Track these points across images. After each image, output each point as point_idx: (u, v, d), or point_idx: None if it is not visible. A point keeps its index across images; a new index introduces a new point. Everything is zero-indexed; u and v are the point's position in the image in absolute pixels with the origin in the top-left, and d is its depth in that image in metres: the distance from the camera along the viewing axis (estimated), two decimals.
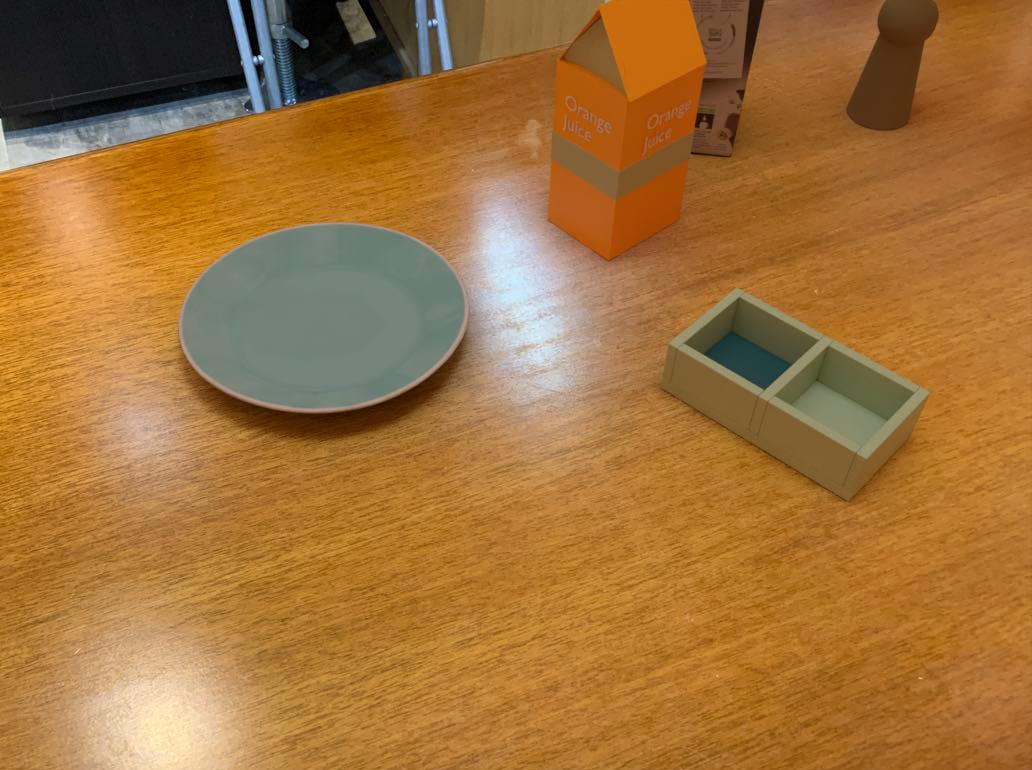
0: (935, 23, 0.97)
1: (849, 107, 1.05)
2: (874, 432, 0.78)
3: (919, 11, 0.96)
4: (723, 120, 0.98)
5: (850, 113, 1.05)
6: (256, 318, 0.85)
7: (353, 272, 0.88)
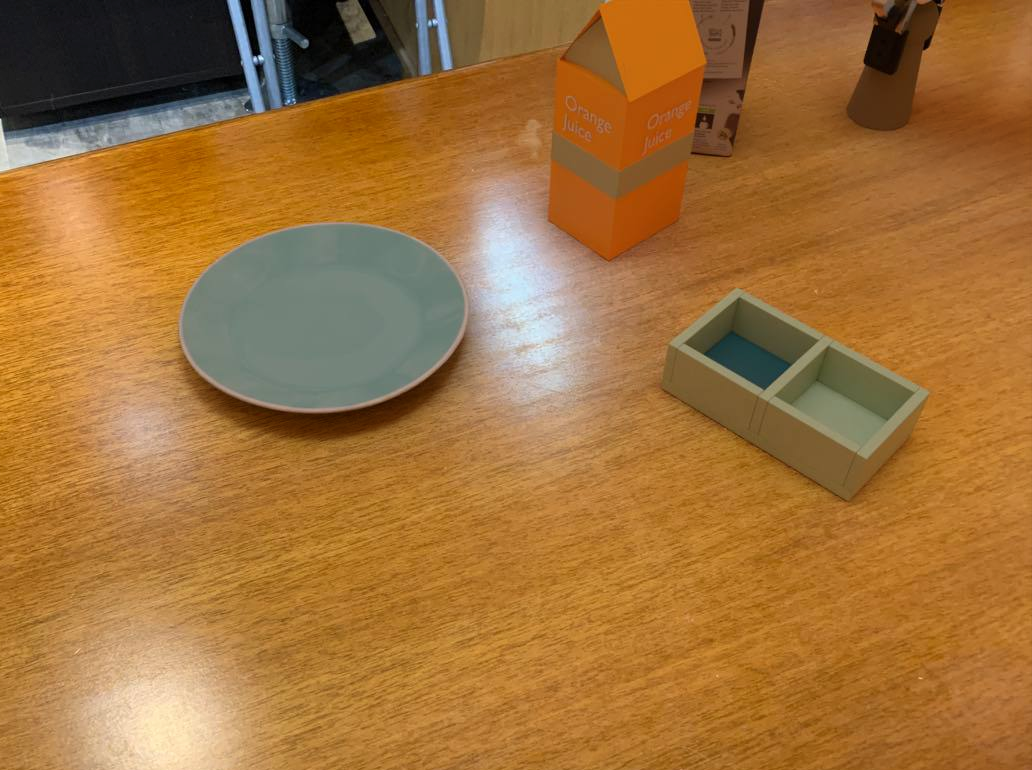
0: (935, 23, 0.97)
1: (849, 107, 1.05)
2: (874, 432, 0.78)
3: (919, 11, 0.96)
4: (723, 120, 0.98)
5: (850, 113, 1.05)
6: (256, 318, 0.85)
7: (353, 272, 0.88)
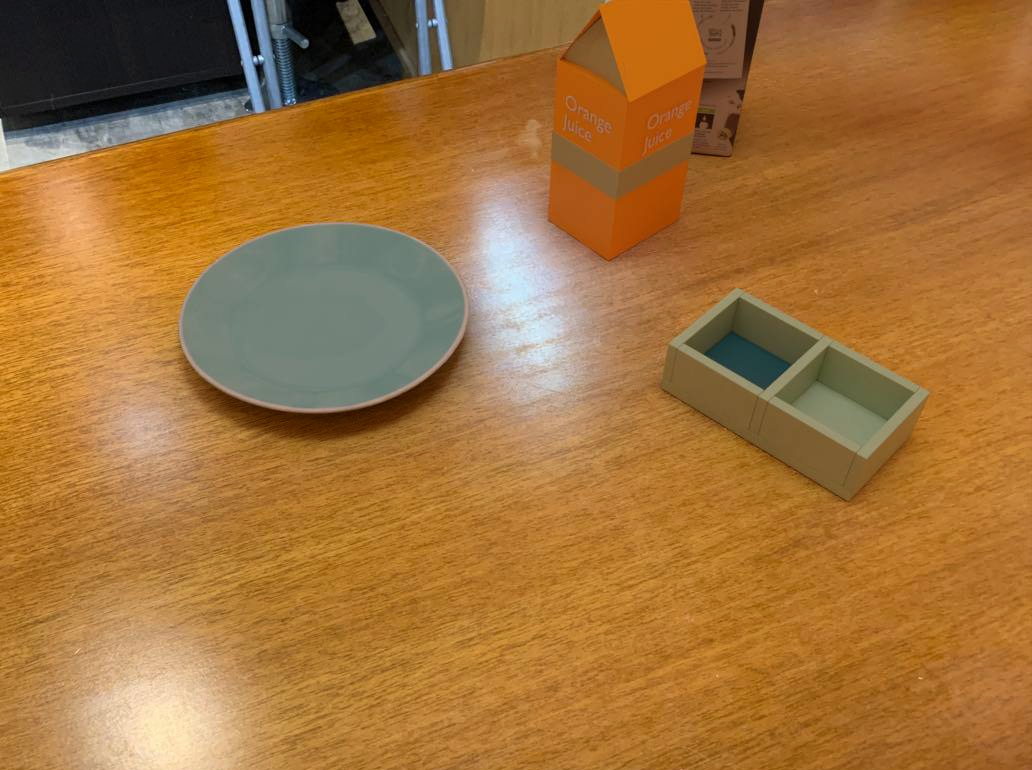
0: None
1: None
2: (874, 432, 0.78)
3: None
4: (723, 120, 0.98)
5: None
6: (256, 318, 0.85)
7: (353, 272, 0.88)
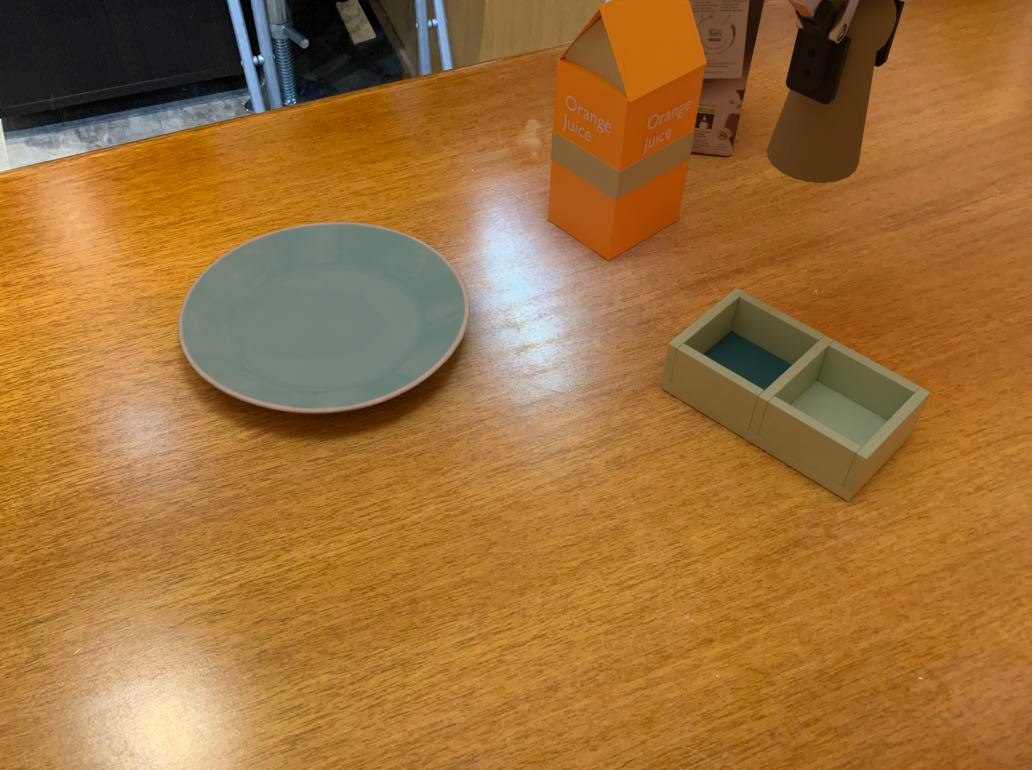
0: (890, 25, 0.63)
1: (769, 148, 0.72)
2: (874, 432, 0.78)
3: (865, 7, 0.62)
4: (723, 120, 0.98)
5: (771, 157, 0.71)
6: (256, 318, 0.85)
7: (353, 272, 0.88)
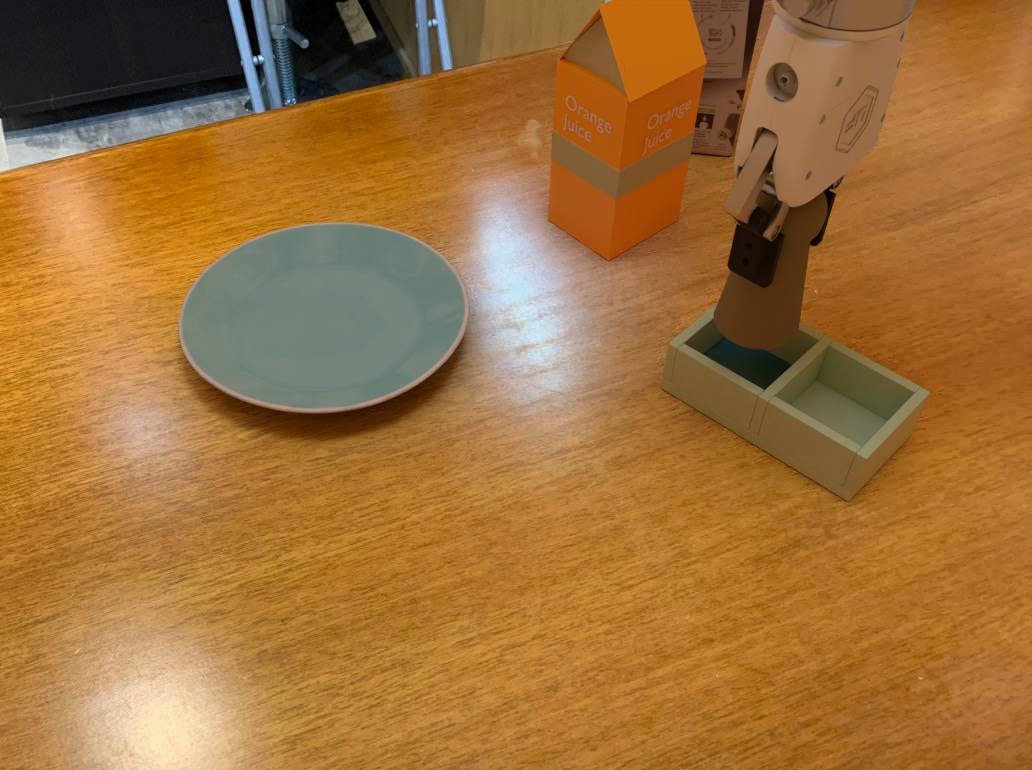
0: (822, 220, 0.68)
1: (716, 314, 0.77)
2: (874, 432, 0.78)
3: None
4: (723, 120, 0.98)
5: (717, 323, 0.76)
6: (256, 318, 0.85)
7: (353, 272, 0.88)
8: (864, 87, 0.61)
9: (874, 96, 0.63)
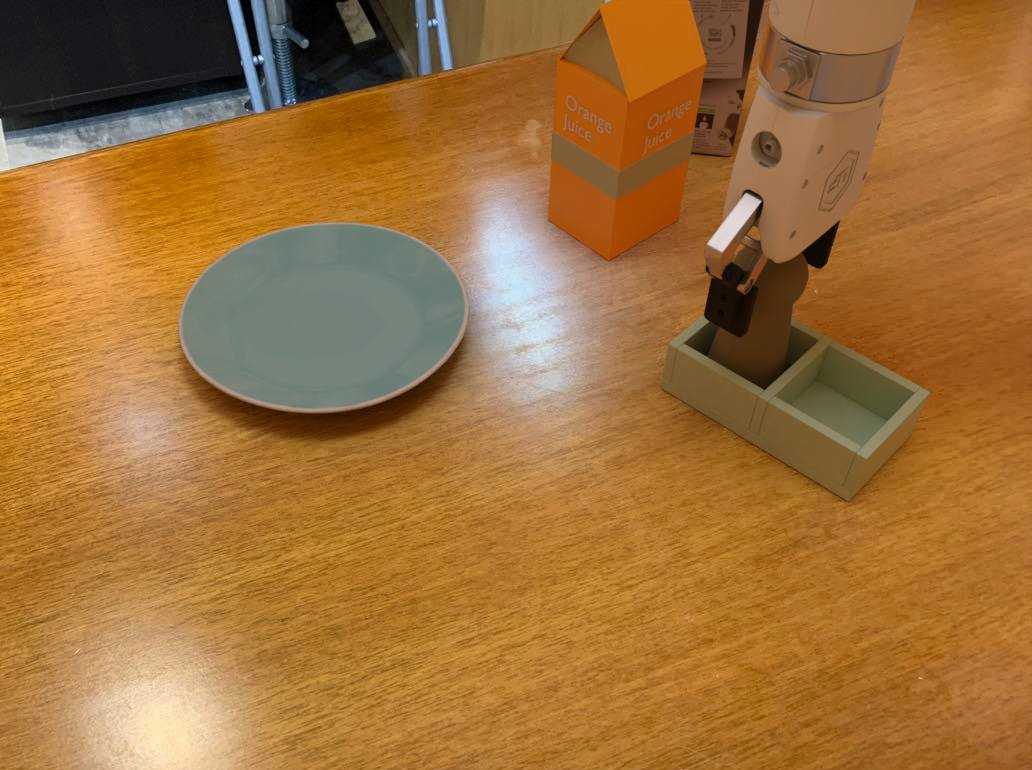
0: (803, 285, 0.73)
1: None
2: (874, 432, 0.78)
3: (780, 272, 0.72)
4: (723, 120, 0.98)
5: None
6: (256, 318, 0.85)
7: (353, 272, 0.88)
8: (845, 152, 0.64)
9: (855, 158, 0.66)
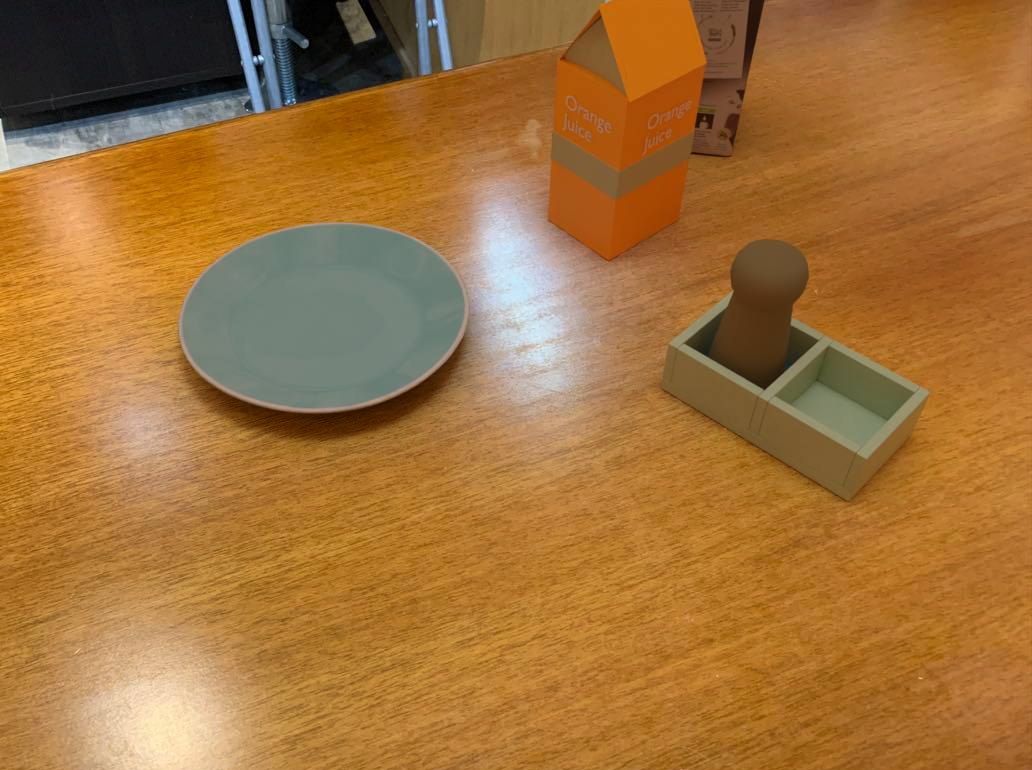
0: (803, 285, 0.73)
1: None
2: (874, 432, 0.78)
3: (780, 272, 0.72)
4: (723, 120, 0.98)
5: None
6: (256, 318, 0.85)
7: (353, 272, 0.88)
8: None
9: None
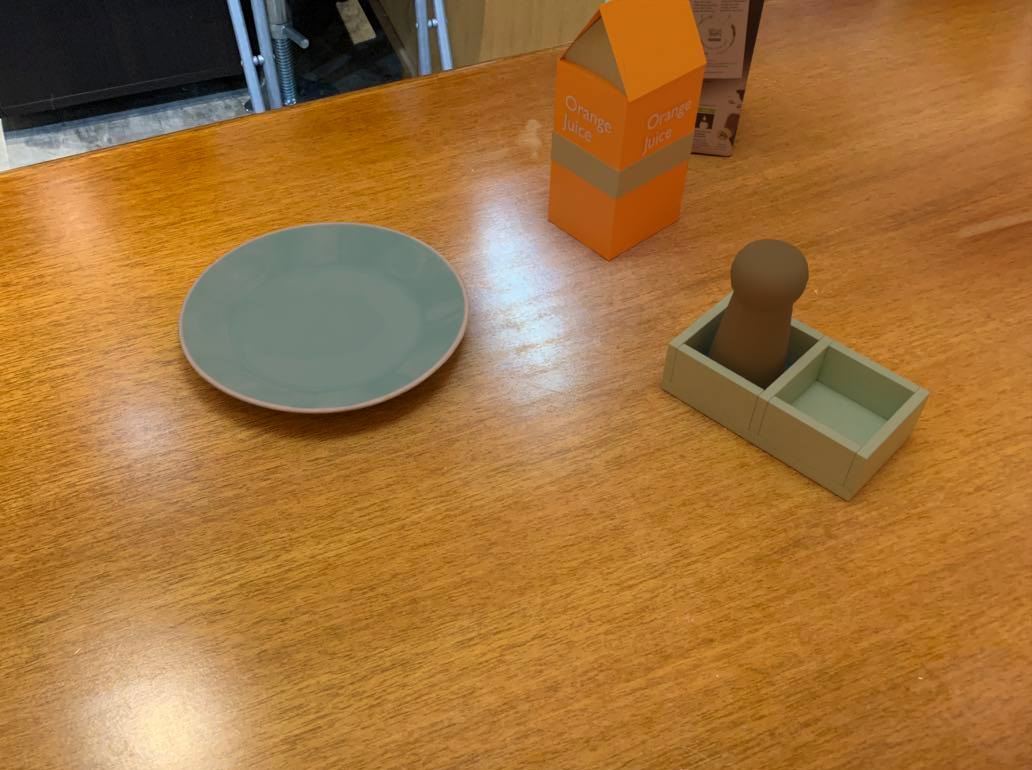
0: (803, 285, 0.73)
1: None
2: (874, 432, 0.78)
3: (780, 272, 0.72)
4: (723, 120, 0.98)
5: None
6: (256, 318, 0.85)
7: (353, 272, 0.88)
8: None
9: None
